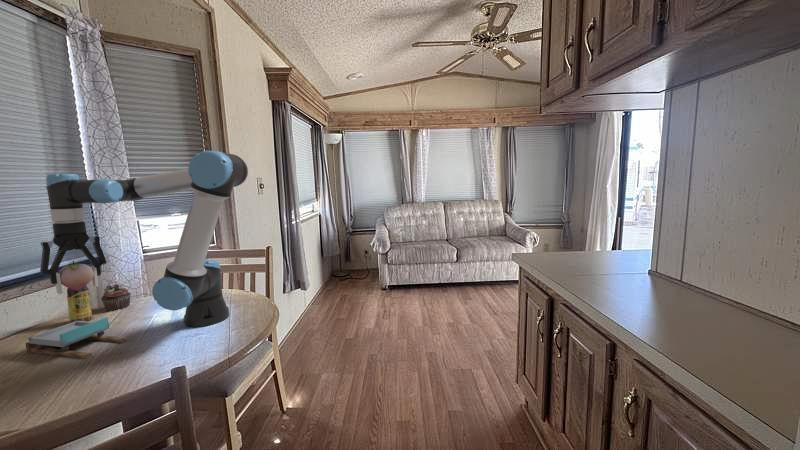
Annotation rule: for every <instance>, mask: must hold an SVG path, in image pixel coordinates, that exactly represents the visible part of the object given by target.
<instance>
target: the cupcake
mask: <svg viewBox="0 0 800 450" xmlns="http://www.w3.org/2000/svg"><path fill="white" fill-rule="evenodd" d="M103 290H104V292H103V296H102V297H101V298H100V299H101V300H100V301H101V302H102V304H103V307H104V310H105V309H106V310H105V311H107V310H115V311H119V310H118V309H120V310H123V308H124V309H126V308H128V307H130V306H131V305H130V303H131V296H132V294H131V293H130V292H129V290H128V289H126V288H125V286H124V285H120V284H118V283H116V284H114V285H107V286H106V287H105V288H103Z"/></svg>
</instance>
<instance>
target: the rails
mask: <svg viewBox="0 0 800 450" xmlns="http://www.w3.org/2000/svg"><path fill="white" fill-rule="evenodd" d="M84 340H90V341H91V340H92V341H101V342H102V341H103V342H111V343H118V344H119V343H121V344H122V343H124V342H126V341H127V339H126V337H121V336H120V337H118V336H109V335H102V336H100V337H99V336H98V335H97V334H95V335H92V336H90V337H87V338H85V339H84ZM47 346H48V345H45V347H43V348H40V349H39V348H38V347H37V344H31V343H29V341H27V342H25V348H26V352H27V353H36V354H37V353H38V354H47V355H54V356H64V357H69V358H70V357H71V358H77V359H78V358H80V359H90V358H91V357H93V353H92V352H87V351H86V352H85V351H78V350H77V351H76V350H75V351H74V350H70V349H69V350H66V351H62V350H61V348H59V349H57V348H52V347H50V348H49V347H47Z"/></svg>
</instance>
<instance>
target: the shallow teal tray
mask: <svg viewBox="0 0 800 450" xmlns="http://www.w3.org/2000/svg"><path fill="white" fill-rule="evenodd" d="M109 329H110V322H109V317H108V316H105V317H101V318H100V319H97V320H95V321H75V322H72V323H66V324H63V325H61V326H58V327H55V328H53V329H49V330H47V331H44V332H42V333H38V334H35V335H32V336H29V337H28V342H29V343H31V344H37V347H38V348H39V349H40V348H46V346H45V345H47V346H50V347H58V348H59V347H60V350H62V351H66V350H69V351H70V345H72V344H74V343H77V342H80V341H82V340H86V339H85V338H87V337H90V336H92V335H98V336H99V337H100V336H105V331H107V330H109Z"/></svg>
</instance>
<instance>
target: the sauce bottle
mask: <svg viewBox="0 0 800 450" xmlns="http://www.w3.org/2000/svg"><path fill="white" fill-rule="evenodd" d="M90 293H91V292H90V289H89V287H88V284H87V285H86V286H84V287H82V288H80V289H79V290H73V289H70V288H67V289H66V294H67V296H66V299H67V307H68V316H69V321H70V323H72V322H75V321H87V322H89V321H90V319H91V320H92V316H93V313H92V303H91V295H90Z"/></svg>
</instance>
